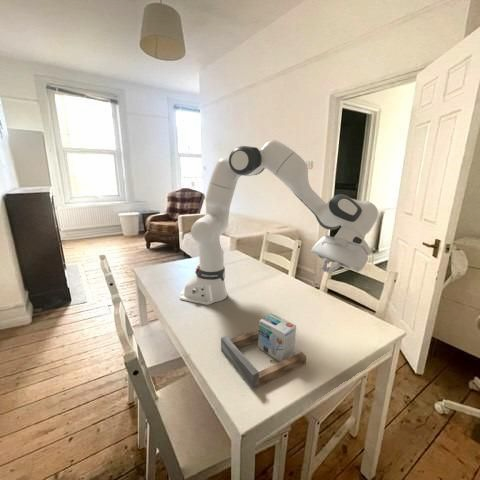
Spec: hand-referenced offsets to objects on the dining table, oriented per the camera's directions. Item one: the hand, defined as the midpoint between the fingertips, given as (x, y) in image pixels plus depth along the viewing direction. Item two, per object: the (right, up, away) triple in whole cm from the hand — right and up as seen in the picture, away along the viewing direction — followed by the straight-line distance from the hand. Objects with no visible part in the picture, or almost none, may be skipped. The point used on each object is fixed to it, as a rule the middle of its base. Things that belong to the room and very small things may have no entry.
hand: (325, 271), depth 93 cm
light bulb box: (-18, -26, -4) cm, 32 cm away
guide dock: (-23, -27, -7) cm, 36 cm away
